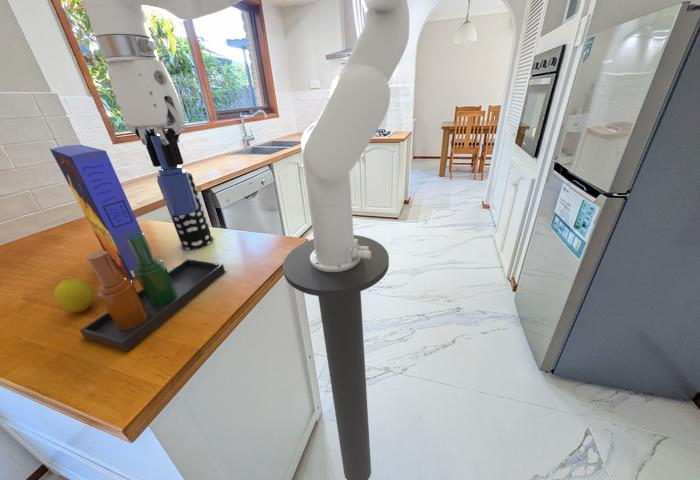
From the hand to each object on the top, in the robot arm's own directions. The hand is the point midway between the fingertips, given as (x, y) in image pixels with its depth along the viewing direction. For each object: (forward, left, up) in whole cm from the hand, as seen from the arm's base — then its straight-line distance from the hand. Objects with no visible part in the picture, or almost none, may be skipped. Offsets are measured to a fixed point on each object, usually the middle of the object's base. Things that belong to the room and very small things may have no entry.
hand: (168, 164), depth 56 cm
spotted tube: (+18, -15, -28) cm, 36 cm away
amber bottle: (+4, +16, -27) cm, 31 cm away
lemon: (+19, +16, -28) cm, 37 cm away
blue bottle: (0, 0, -10) cm, 10 cm away
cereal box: (+29, -2, -28) cm, 40 cm away
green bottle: (+4, +9, -27) cm, 28 cm away
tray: (+4, +9, -27) cm, 29 cm away
